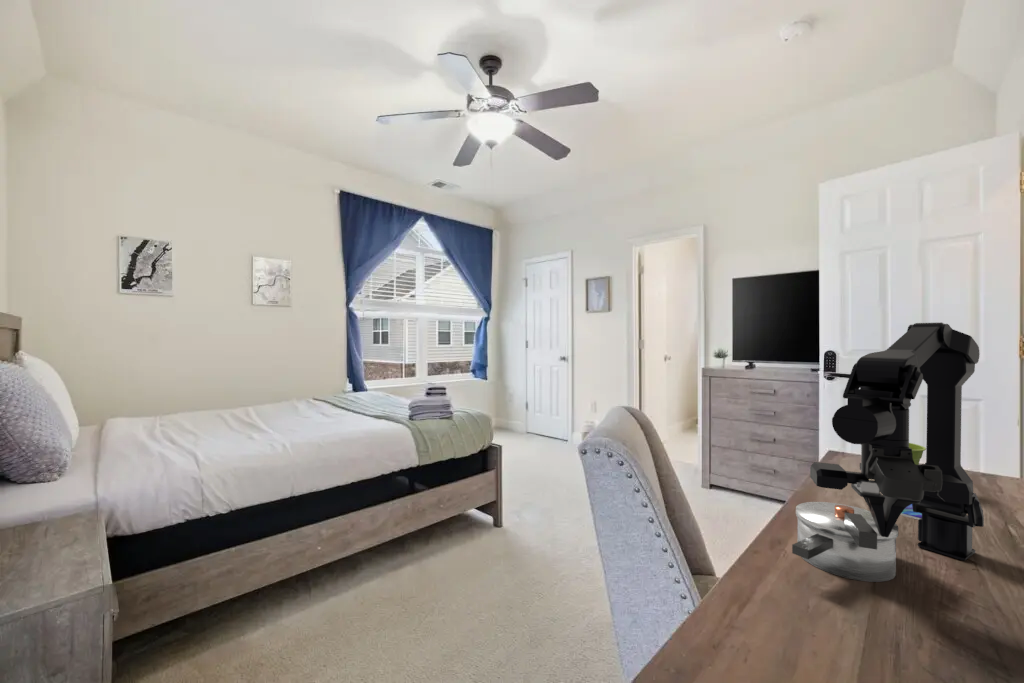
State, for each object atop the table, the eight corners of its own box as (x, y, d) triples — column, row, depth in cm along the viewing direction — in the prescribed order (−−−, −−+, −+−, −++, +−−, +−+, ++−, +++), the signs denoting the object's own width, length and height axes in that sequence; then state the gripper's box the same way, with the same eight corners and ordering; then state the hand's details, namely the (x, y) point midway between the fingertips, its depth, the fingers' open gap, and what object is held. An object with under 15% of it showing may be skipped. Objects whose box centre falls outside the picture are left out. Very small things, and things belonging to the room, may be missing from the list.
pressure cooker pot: (827, 533, 90) (827, 501, 90) (916, 563, 78) (916, 526, 78) (757, 565, 77) (757, 527, 77) (850, 606, 65) (851, 562, 65)
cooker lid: (789, 502, 89) (789, 485, 89) (881, 514, 83) (881, 496, 83) (810, 545, 70) (810, 524, 70) (930, 564, 64) (930, 541, 64)
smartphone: (941, 504, 105) (928, 520, 96) (941, 508, 105) (928, 524, 96) (901, 495, 111) (885, 509, 102) (901, 498, 111) (885, 513, 102)
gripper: (825, 441, 66) (824, 546, 66) (995, 455, 58) (994, 573, 58) (809, 428, 76) (809, 518, 76) (952, 438, 69) (952, 539, 69)
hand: (883, 536), depth 70 cm, fingers closed
